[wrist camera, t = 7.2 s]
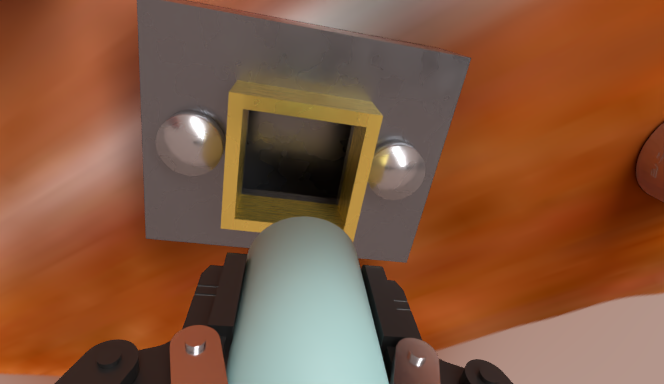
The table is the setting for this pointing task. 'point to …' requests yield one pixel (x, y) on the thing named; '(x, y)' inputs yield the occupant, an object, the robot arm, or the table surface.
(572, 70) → the table surface
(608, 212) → the table surface
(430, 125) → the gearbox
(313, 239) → the spout can
